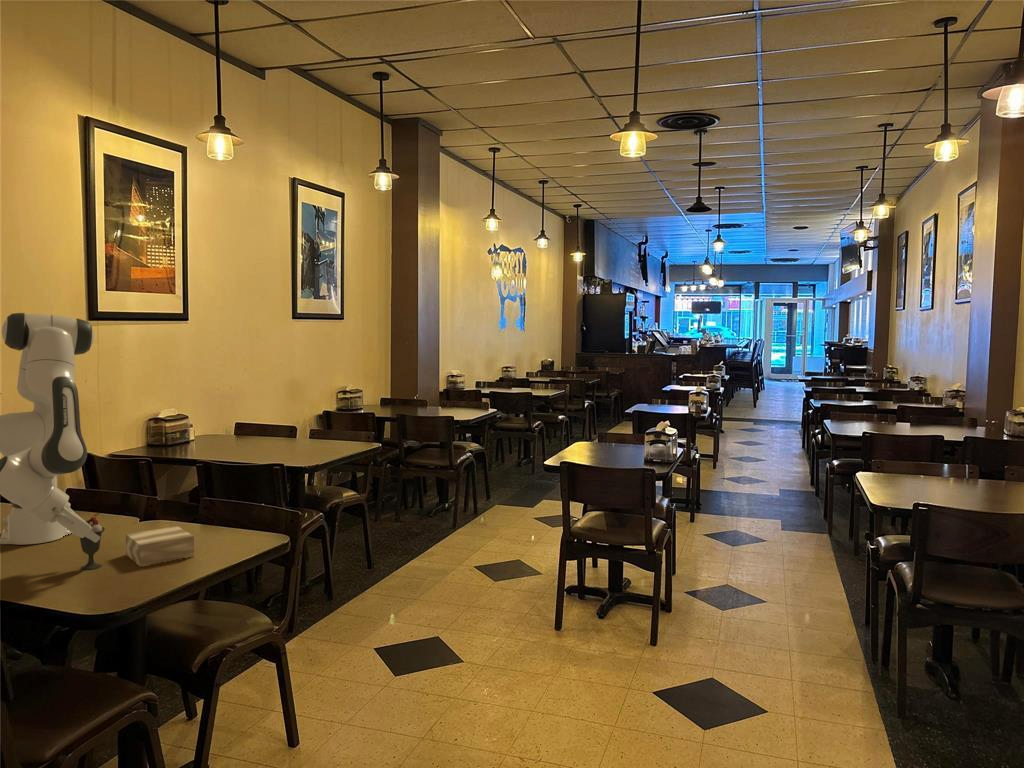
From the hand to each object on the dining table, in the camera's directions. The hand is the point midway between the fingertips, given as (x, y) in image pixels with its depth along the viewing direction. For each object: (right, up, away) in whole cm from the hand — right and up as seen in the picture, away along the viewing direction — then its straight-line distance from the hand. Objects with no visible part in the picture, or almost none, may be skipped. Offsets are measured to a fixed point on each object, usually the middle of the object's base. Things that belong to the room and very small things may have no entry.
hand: (93, 536), depth 193 cm
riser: (+13, -8, +11) cm, 18 cm away
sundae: (-1, -9, 0) cm, 9 cm away
